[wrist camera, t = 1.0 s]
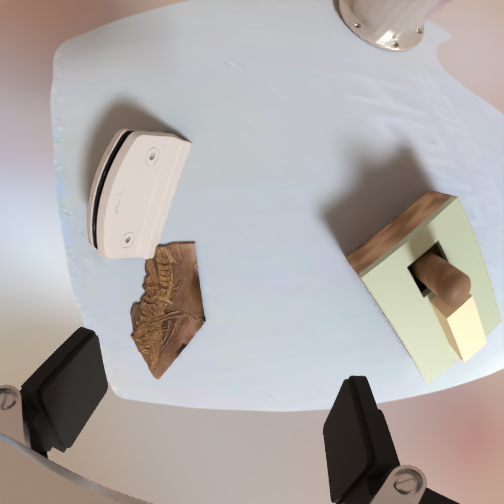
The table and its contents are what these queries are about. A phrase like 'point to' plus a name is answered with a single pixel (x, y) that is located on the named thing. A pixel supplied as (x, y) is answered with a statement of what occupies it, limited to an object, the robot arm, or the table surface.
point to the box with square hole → (398, 235)
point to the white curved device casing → (134, 192)
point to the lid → (427, 302)
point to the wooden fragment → (168, 306)
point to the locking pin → (441, 278)
